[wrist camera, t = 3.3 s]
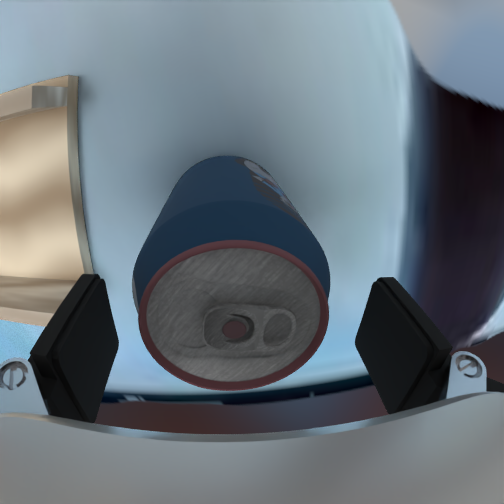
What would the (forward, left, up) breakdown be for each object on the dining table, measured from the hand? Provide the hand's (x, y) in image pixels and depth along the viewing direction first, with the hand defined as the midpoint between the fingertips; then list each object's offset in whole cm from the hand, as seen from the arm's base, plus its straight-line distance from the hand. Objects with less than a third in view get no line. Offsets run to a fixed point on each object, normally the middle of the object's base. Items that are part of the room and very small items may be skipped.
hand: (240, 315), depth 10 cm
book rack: (-1, -20, -11) cm, 23 cm away
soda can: (0, 0, -11) cm, 11 cm away
